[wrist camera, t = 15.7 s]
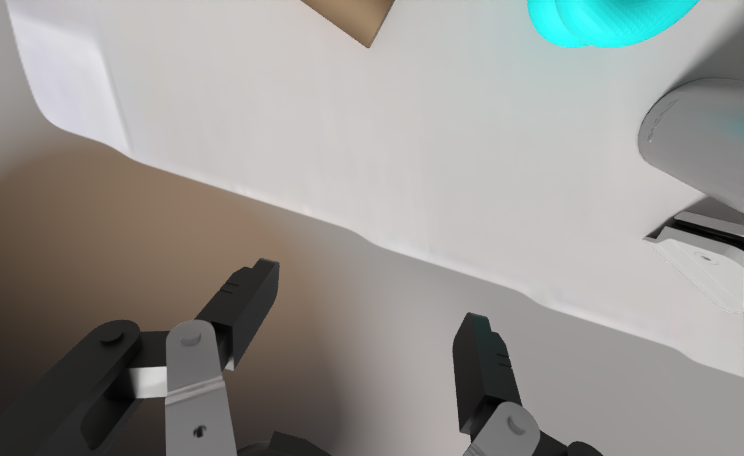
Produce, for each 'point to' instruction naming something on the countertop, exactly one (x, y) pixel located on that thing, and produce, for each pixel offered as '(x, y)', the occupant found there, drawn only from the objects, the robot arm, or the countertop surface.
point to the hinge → (706, 257)
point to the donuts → (604, 20)
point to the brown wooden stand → (354, 16)
